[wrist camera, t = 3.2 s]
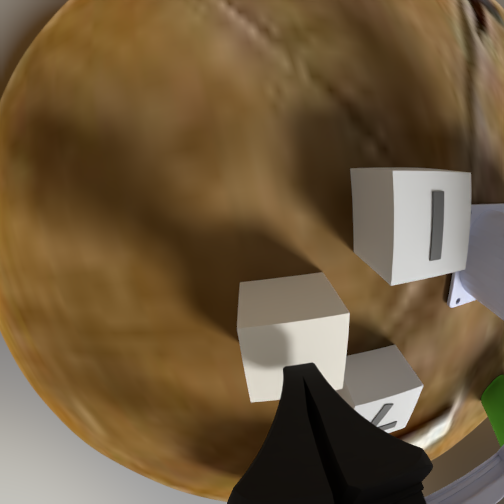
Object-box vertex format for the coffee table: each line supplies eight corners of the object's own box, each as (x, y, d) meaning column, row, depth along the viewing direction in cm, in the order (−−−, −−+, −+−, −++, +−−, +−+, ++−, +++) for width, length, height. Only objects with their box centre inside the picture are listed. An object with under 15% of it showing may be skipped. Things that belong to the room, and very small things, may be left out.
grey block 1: (418, 167, 14) (472, 172, 9) (418, 243, 16) (466, 270, 11) (349, 168, 14) (393, 170, 9) (353, 252, 16) (391, 286, 11)
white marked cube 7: (394, 343, 18) (424, 386, 13) (384, 387, 19) (405, 428, 15) (335, 357, 18) (355, 407, 13) (331, 399, 20) (345, 446, 15)
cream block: (322, 271, 16) (349, 312, 11) (322, 338, 18) (342, 388, 13) (239, 281, 16) (236, 328, 11) (250, 348, 18) (250, 402, 13)
